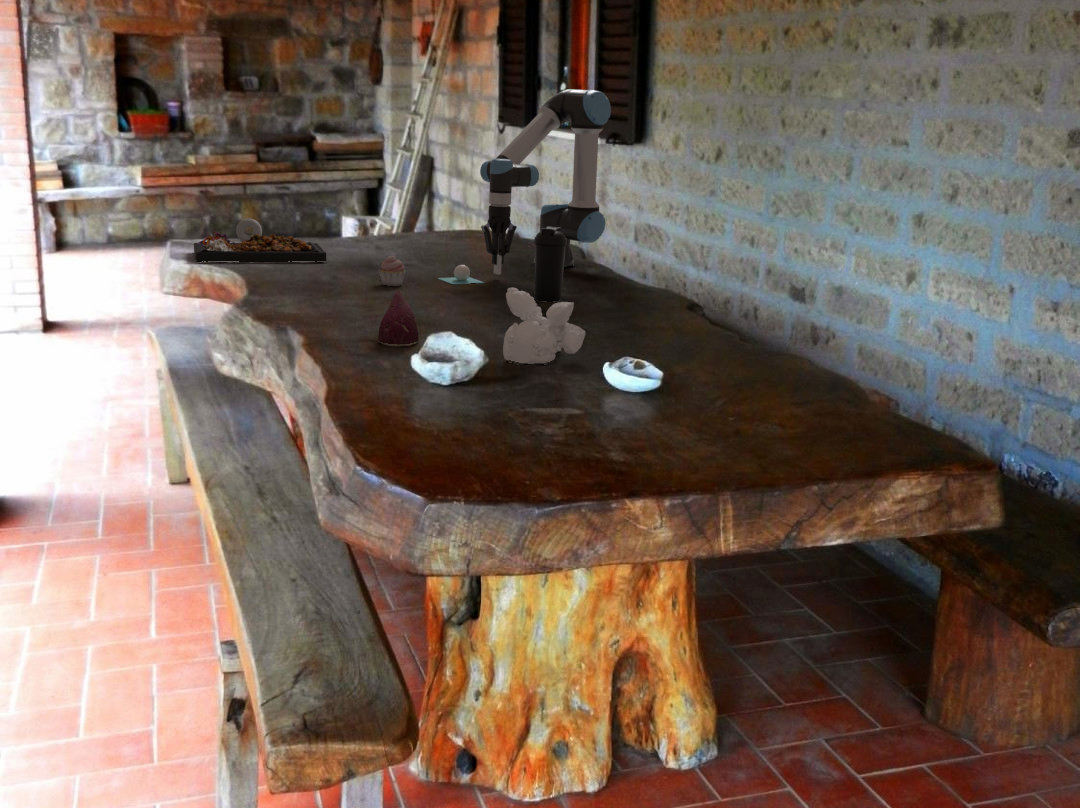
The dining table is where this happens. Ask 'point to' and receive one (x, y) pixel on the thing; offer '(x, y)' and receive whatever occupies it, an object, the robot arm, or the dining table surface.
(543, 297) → the water bottle
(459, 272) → the ball
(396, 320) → the vegetable
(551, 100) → the robot arm
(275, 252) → the food platter
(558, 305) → the grey lumpy lobed block
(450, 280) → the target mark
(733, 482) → the dining table surface
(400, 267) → the cupcake
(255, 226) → the donut
